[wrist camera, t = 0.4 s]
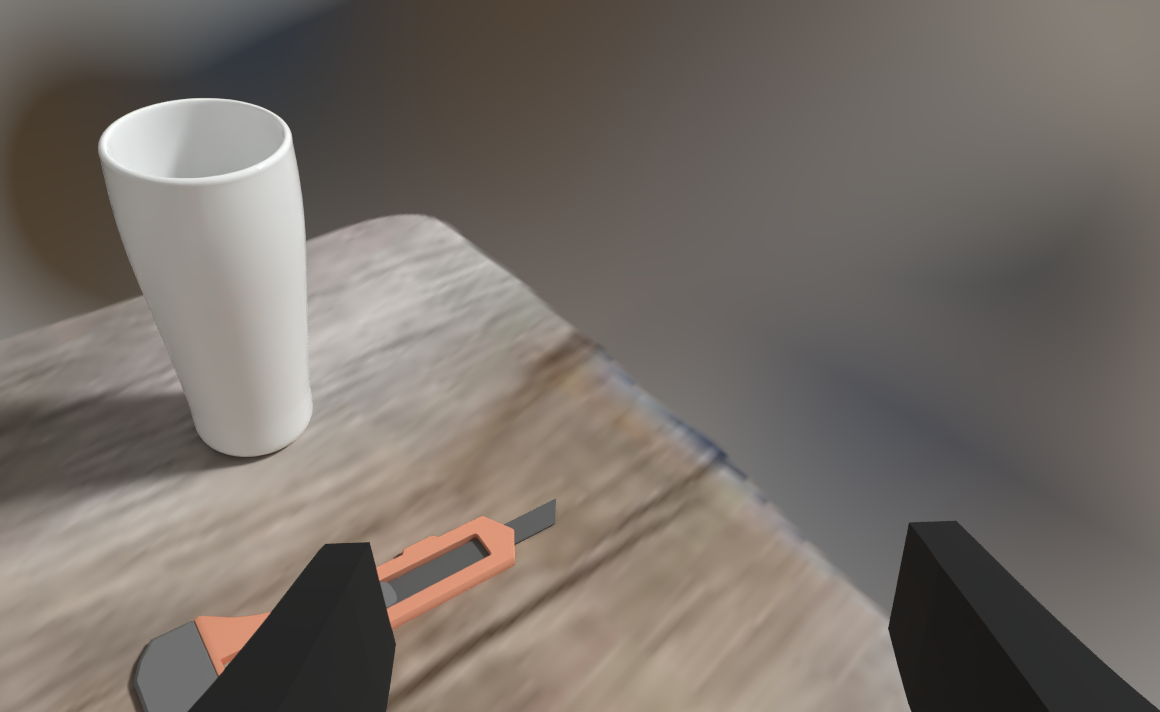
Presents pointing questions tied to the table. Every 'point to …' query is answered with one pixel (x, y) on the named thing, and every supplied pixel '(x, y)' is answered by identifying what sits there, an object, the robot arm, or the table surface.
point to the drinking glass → (219, 261)
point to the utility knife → (409, 586)
